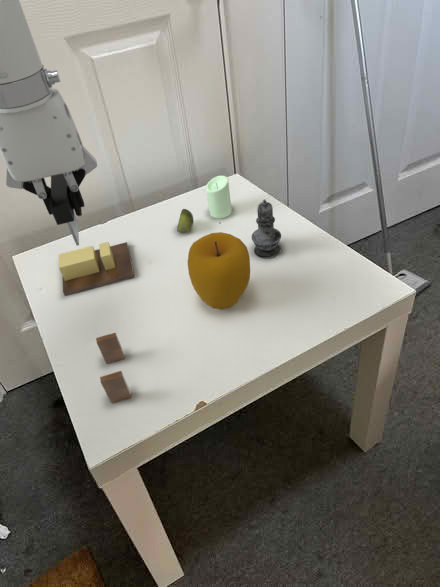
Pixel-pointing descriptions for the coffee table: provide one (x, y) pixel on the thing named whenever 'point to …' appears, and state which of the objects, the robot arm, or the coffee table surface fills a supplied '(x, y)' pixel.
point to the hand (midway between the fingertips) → (68, 212)
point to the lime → (185, 221)
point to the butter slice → (106, 255)
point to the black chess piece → (266, 232)
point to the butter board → (103, 272)
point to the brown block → (115, 381)
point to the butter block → (78, 263)
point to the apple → (219, 269)
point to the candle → (219, 197)
